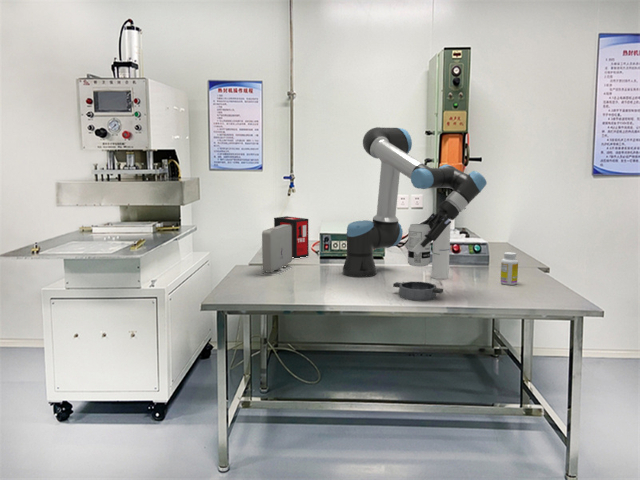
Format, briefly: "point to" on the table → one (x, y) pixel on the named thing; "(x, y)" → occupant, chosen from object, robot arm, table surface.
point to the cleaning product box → (296, 234)
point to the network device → (277, 248)
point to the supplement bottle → (509, 269)
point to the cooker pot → (417, 290)
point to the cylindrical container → (441, 255)
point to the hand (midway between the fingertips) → (410, 250)
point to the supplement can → (414, 237)
